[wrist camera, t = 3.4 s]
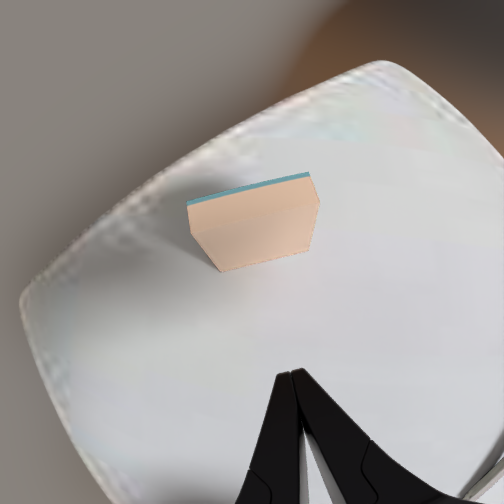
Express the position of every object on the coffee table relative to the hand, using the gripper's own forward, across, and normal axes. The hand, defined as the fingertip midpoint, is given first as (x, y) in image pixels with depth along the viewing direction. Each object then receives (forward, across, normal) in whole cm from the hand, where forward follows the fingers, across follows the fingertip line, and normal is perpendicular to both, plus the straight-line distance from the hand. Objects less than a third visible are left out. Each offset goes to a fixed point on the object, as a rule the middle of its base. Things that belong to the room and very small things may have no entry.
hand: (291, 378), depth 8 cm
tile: (+15, 0, +3) cm, 15 cm away
